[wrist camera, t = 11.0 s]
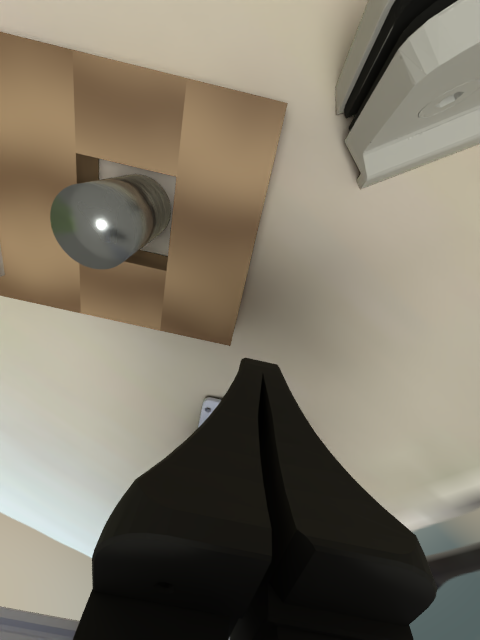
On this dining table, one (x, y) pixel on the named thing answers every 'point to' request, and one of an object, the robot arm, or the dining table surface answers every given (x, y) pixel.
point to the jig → (142, 152)
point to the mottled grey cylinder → (109, 219)
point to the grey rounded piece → (411, 85)
